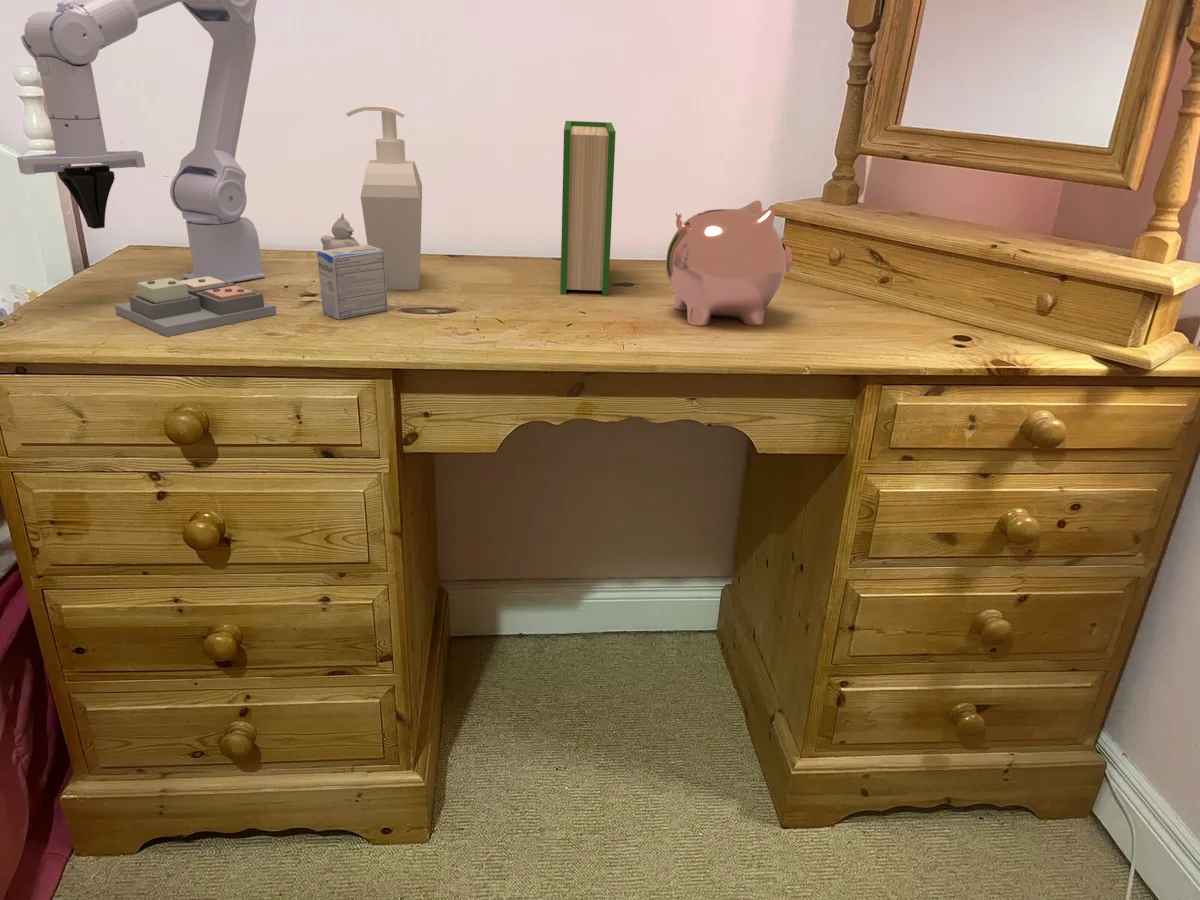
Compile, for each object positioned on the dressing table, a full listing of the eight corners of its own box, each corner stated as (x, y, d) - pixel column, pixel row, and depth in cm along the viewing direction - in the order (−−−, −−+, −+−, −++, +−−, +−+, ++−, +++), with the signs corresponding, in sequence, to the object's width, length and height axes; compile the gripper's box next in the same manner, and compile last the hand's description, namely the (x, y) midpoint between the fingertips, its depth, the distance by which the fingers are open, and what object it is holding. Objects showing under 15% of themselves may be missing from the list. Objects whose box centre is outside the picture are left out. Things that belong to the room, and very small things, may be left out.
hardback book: (608, 296, 136) (615, 131, 126) (560, 294, 136) (563, 129, 126) (605, 270, 152) (611, 122, 142) (562, 268, 152) (565, 120, 142)
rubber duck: (354, 263, 149) (351, 215, 146) (316, 261, 149) (312, 213, 146) (365, 257, 154) (361, 210, 150) (328, 255, 154) (324, 208, 151)
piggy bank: (801, 330, 123) (817, 213, 117) (676, 331, 120) (685, 212, 114) (764, 301, 137) (777, 196, 130) (652, 302, 134) (659, 194, 127)
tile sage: (172, 291, 117) (170, 276, 116) (188, 297, 114) (186, 282, 114) (138, 296, 114) (136, 281, 113) (155, 303, 111) (152, 287, 111)
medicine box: (372, 304, 126) (368, 243, 123) (389, 311, 123) (385, 249, 120) (321, 313, 121) (315, 250, 117) (338, 320, 118) (332, 256, 115)
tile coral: (237, 298, 121) (235, 283, 120) (254, 304, 118) (252, 290, 117) (206, 303, 117) (204, 289, 117) (223, 310, 115) (221, 295, 114)
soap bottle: (362, 273, 143) (350, 102, 132) (425, 274, 144) (418, 105, 133) (355, 293, 131) (341, 107, 121) (423, 293, 133) (416, 110, 122)
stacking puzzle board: (222, 294, 128) (220, 274, 126) (276, 314, 120) (274, 292, 118) (116, 313, 117) (111, 291, 116) (167, 336, 109) (163, 312, 108)
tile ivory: (210, 288, 125) (208, 274, 124) (227, 294, 122) (225, 280, 121) (180, 293, 121) (178, 279, 121) (196, 300, 119) (194, 285, 118)
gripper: (120, 114, 118) (137, 217, 124) (-2, 116, 108) (23, 228, 114) (144, 118, 114) (161, 224, 120) (20, 121, 104) (46, 237, 110)
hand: (96, 227), depth 117 cm, fingers closed
